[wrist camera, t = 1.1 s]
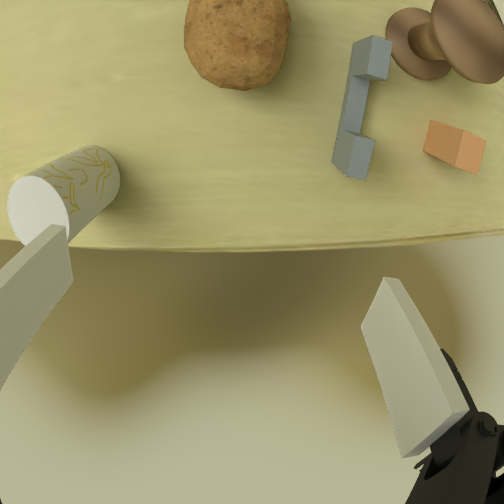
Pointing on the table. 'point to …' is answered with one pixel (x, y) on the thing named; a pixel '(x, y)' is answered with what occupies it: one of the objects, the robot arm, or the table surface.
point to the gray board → (359, 105)
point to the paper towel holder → (500, 8)
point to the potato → (237, 40)
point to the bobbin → (449, 41)
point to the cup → (63, 193)
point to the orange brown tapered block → (455, 146)
